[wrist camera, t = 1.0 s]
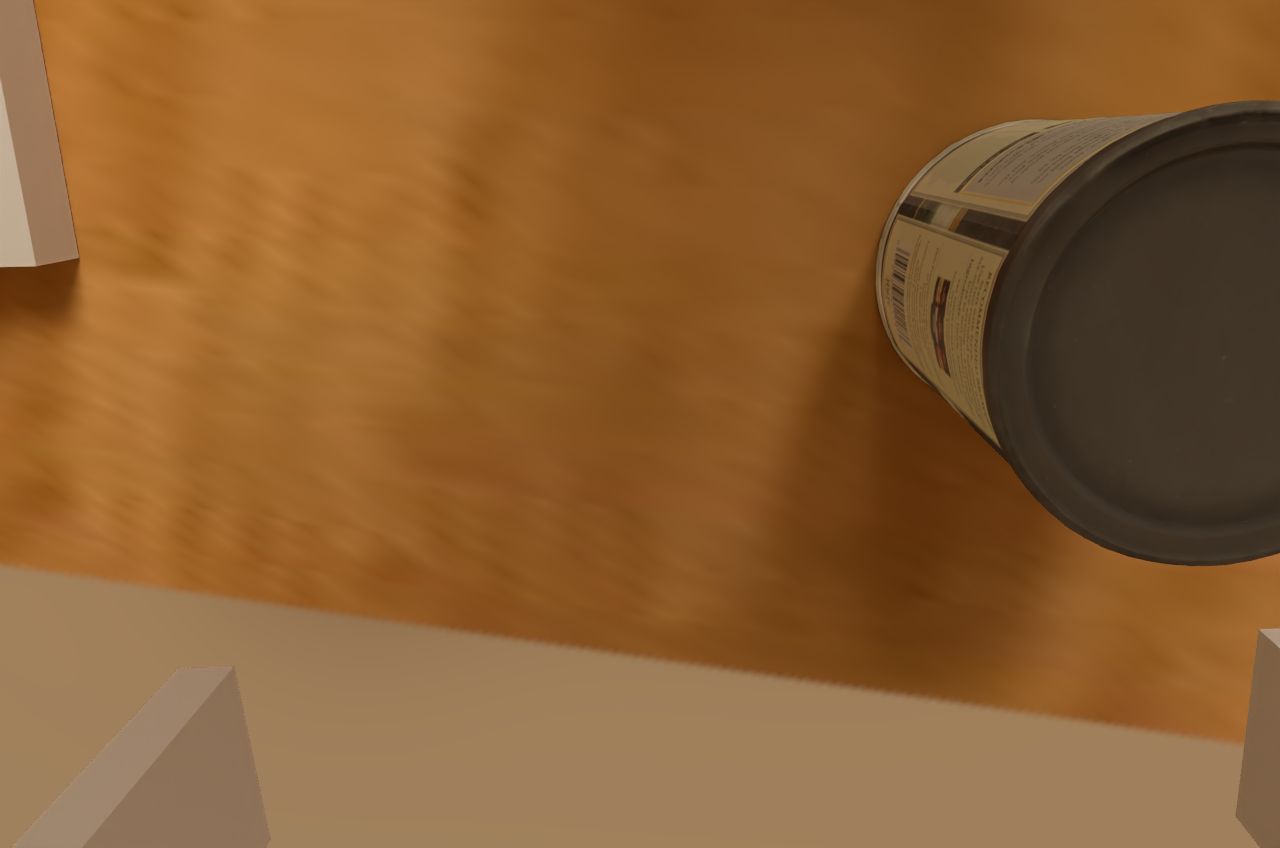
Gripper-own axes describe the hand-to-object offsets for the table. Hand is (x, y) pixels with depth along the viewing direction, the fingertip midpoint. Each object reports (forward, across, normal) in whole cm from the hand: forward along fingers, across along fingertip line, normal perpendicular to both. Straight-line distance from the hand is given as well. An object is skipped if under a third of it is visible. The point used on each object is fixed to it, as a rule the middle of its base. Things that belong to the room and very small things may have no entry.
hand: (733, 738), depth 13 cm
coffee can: (+25, +11, +2) cm, 27 cm away
